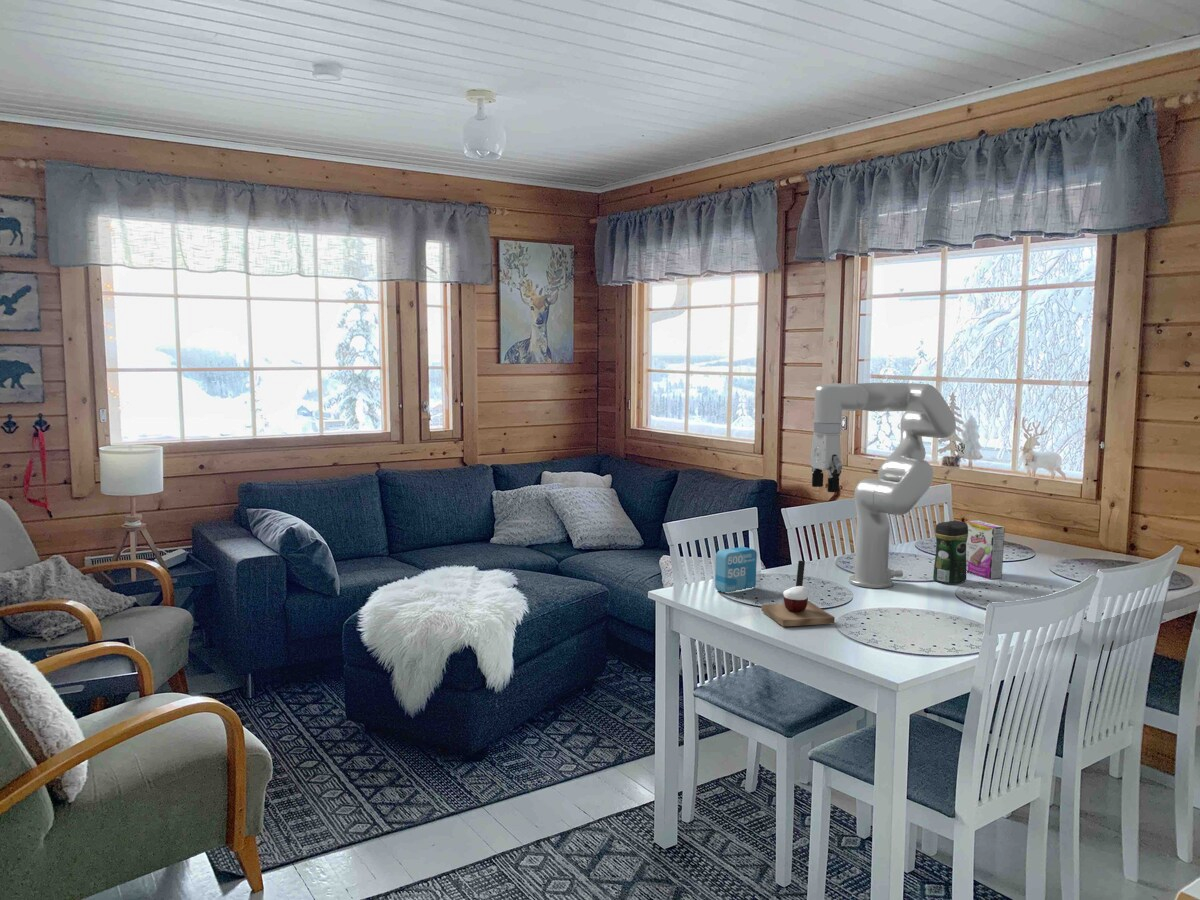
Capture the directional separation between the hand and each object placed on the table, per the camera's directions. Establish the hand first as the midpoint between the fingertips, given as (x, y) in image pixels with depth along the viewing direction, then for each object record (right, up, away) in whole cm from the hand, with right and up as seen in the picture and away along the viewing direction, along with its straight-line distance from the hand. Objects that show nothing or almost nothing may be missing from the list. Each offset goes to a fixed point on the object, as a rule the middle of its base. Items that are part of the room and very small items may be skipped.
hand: (825, 489), depth 255 cm
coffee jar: (+42, -29, +19) cm, 55 cm away
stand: (-12, -33, -21) cm, 41 cm away
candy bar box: (+56, -28, +27) cm, 68 cm away
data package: (-24, -30, +6) cm, 39 cm away
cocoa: (-13, -31, -20) cm, 39 cm away
